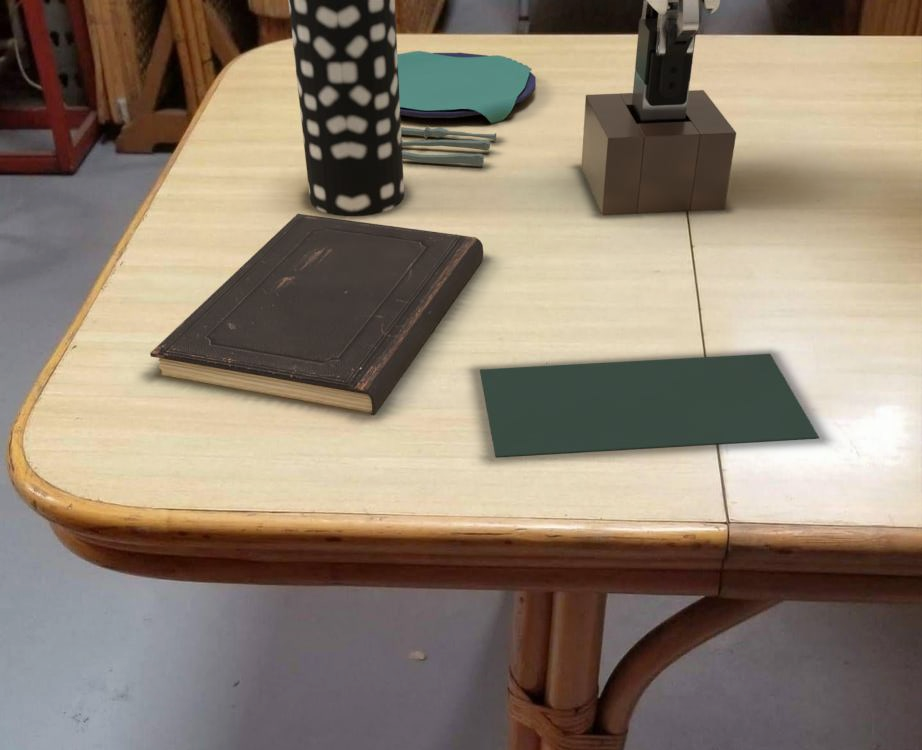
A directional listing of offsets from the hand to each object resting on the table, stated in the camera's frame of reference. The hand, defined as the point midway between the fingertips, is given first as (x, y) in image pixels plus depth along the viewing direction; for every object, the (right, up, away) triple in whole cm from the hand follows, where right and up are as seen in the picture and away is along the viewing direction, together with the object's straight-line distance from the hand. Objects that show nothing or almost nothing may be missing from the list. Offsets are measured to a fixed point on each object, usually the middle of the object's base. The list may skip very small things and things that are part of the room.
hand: (660, 92), depth 90 cm
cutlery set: (-20, +7, +21) cm, 30 cm away
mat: (-5, -29, -20) cm, 36 cm away
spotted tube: (-26, -8, +5) cm, 27 cm away
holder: (0, -7, +6) cm, 9 cm away
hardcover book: (-26, -22, -11) cm, 36 cm away
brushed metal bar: (0, -7, +6) cm, 9 cm away
